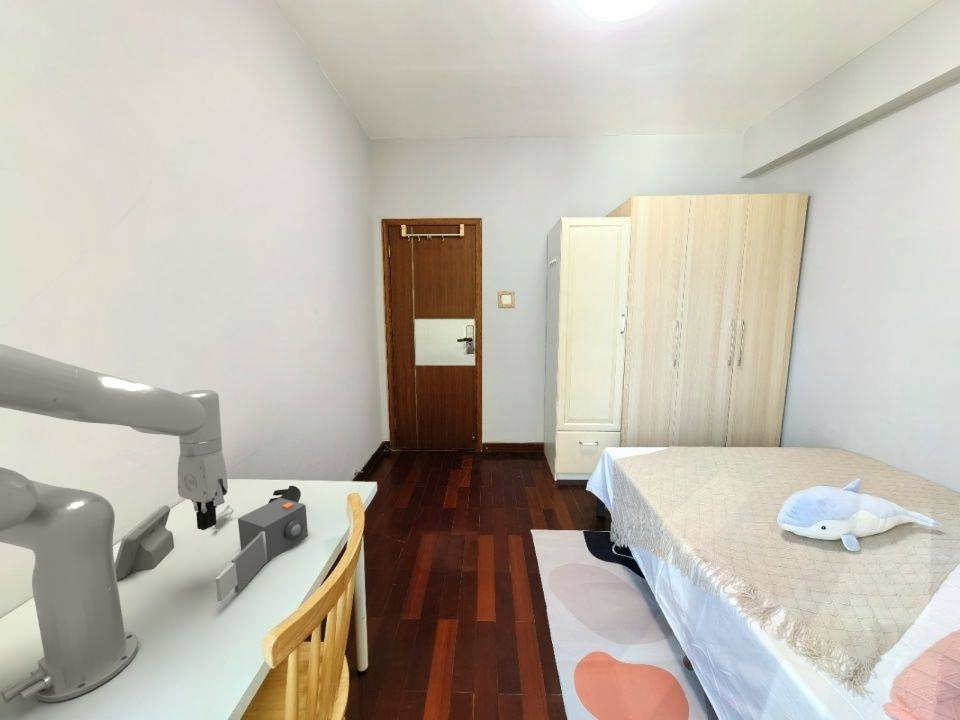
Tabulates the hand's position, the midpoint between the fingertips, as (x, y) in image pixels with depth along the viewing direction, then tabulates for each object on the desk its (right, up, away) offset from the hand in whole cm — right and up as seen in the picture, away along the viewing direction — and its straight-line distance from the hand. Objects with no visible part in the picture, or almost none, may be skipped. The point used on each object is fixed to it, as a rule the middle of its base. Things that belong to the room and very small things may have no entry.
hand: (207, 526), depth 88 cm
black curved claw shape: (+3, -9, +31) cm, 32 cm away
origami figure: (-14, -10, +25) cm, 31 cm away
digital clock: (-22, -13, +9) cm, 27 cm away
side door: (+9, -12, 0) cm, 15 cm away
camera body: (+7, -11, +15) cm, 20 cm away
